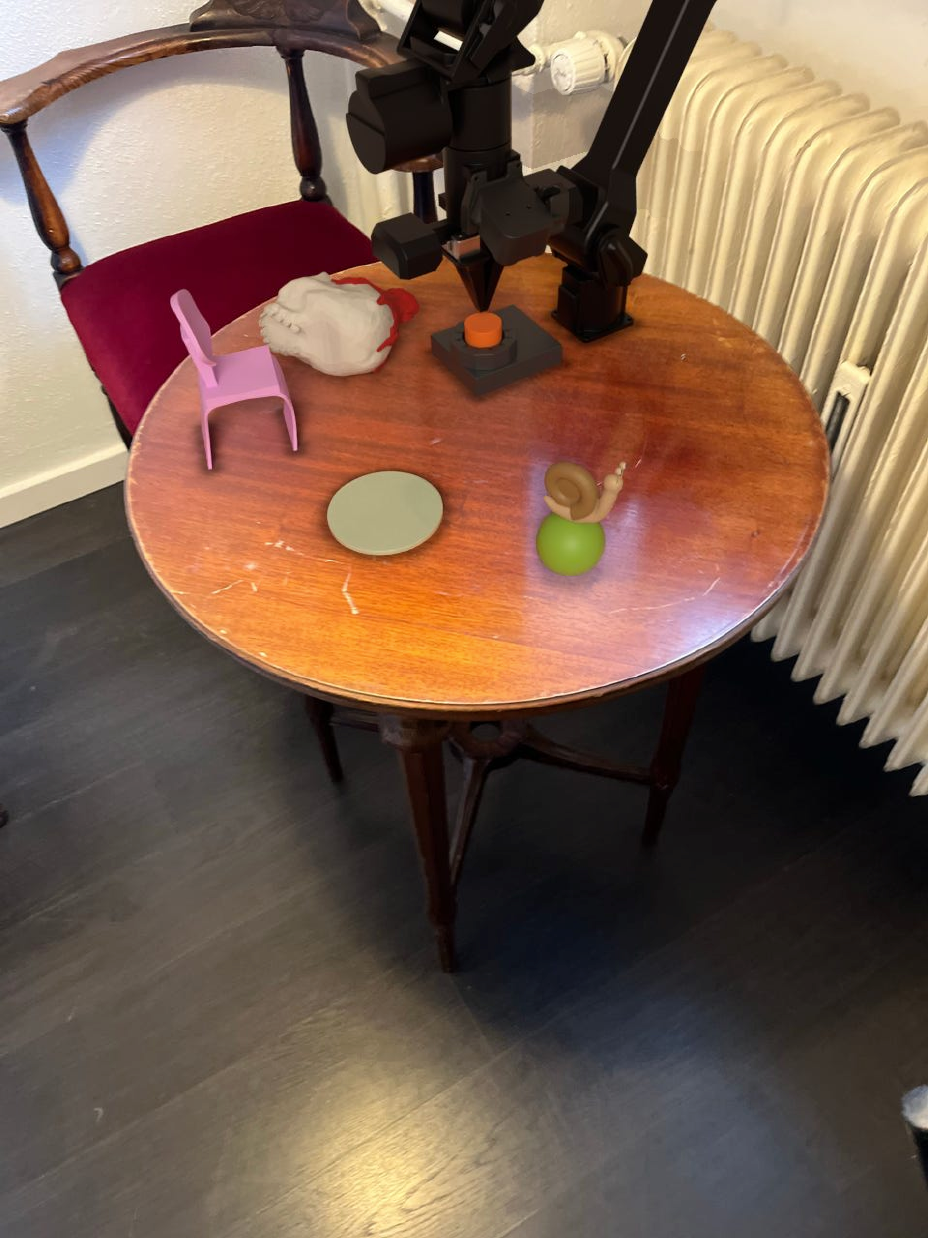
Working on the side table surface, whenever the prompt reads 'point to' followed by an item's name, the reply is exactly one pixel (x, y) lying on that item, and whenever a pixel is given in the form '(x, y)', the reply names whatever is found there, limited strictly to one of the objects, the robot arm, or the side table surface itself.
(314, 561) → the side table surface
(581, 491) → the snail figurine
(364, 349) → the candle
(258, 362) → the toy chair
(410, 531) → the coaster
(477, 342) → the button
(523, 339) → the button block
